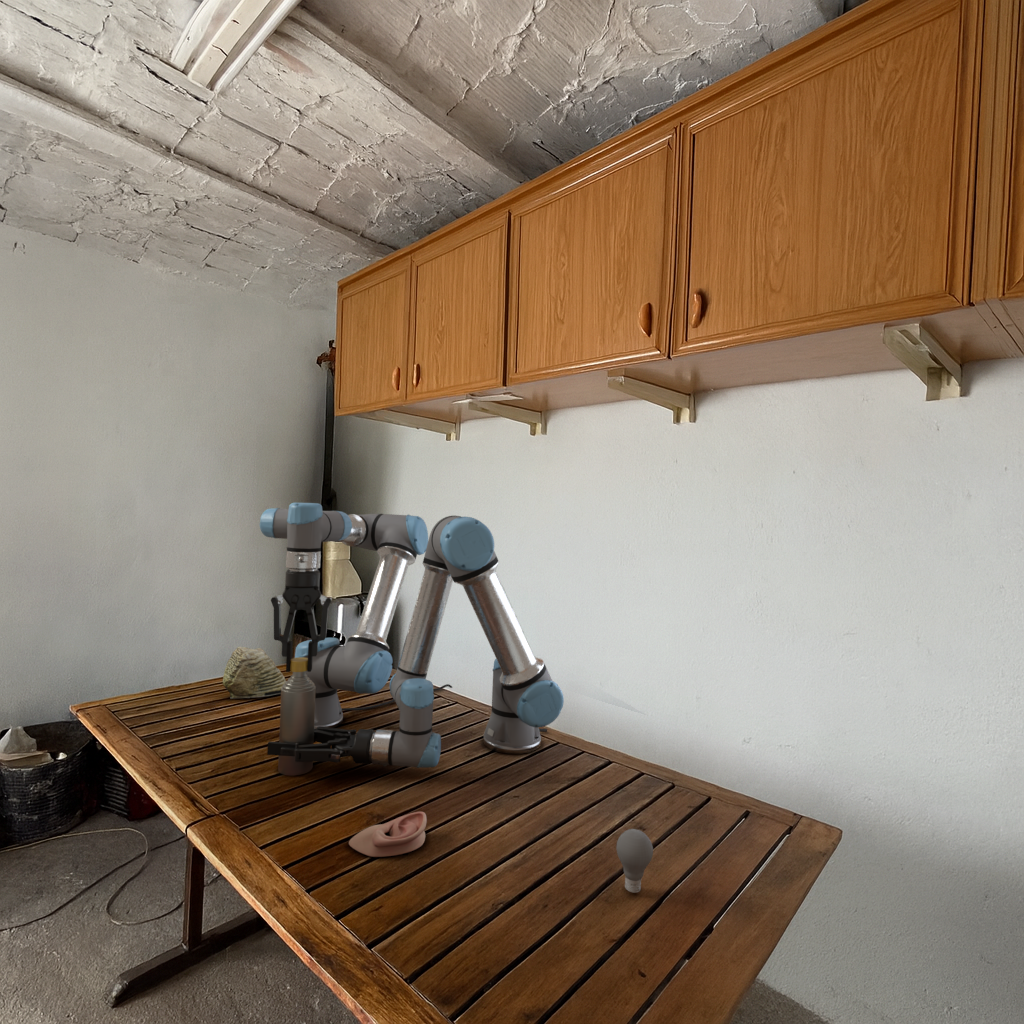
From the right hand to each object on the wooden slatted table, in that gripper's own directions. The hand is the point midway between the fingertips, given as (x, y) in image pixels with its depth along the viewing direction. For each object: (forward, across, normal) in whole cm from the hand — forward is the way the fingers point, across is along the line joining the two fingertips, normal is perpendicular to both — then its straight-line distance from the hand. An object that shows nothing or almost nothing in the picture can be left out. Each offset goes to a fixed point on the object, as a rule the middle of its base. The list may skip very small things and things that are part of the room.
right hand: (275, 741), depth 147 cm
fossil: (+27, +50, -6) cm, 57 cm away
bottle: (-5, 0, -6) cm, 8 cm away
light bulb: (-77, -39, -6) cm, 86 cm away
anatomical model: (-33, -28, -6) cm, 44 cm away
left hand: (-5, 0, +17) cm, 18 cm away
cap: (-5, 0, +19) cm, 20 cm away
